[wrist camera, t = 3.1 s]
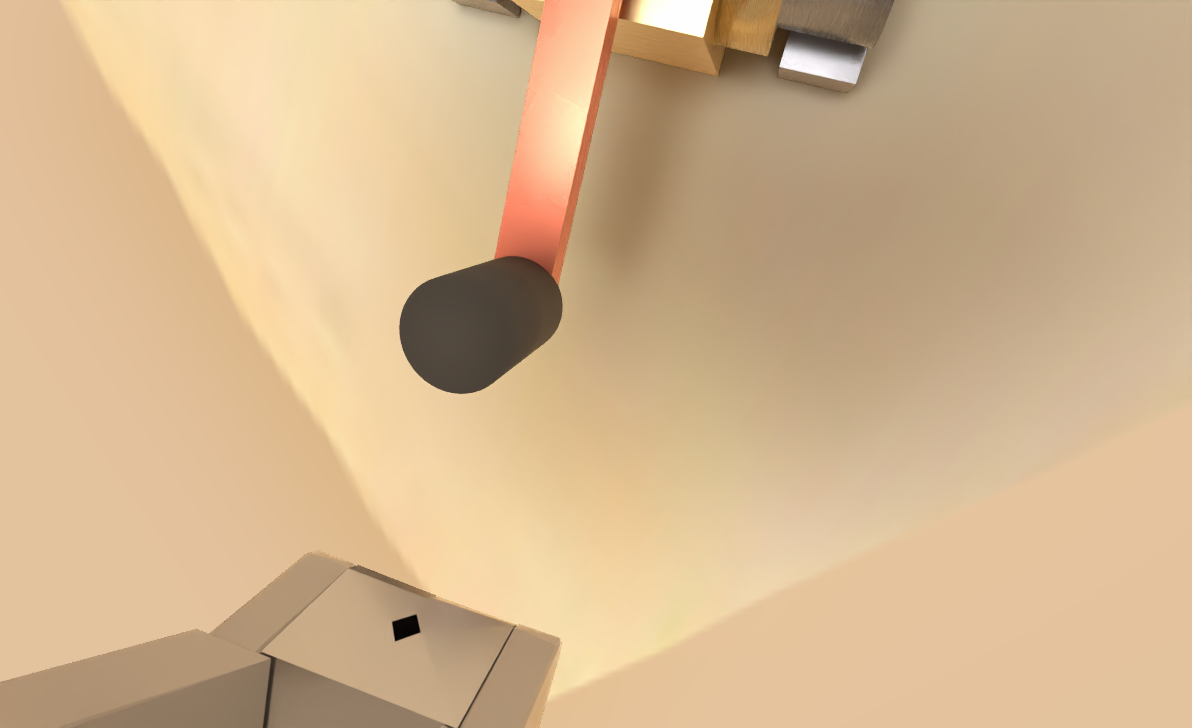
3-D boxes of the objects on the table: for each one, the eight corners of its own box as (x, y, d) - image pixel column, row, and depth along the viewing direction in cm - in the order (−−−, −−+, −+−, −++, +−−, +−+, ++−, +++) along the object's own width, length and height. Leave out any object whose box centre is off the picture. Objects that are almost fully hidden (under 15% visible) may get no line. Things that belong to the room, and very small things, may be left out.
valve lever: (575, -201, 20) (498, -364, 14) (694, -181, 20) (667, -339, 14) (474, 325, 25) (384, 372, 19) (567, 353, 25) (506, 410, 19)
